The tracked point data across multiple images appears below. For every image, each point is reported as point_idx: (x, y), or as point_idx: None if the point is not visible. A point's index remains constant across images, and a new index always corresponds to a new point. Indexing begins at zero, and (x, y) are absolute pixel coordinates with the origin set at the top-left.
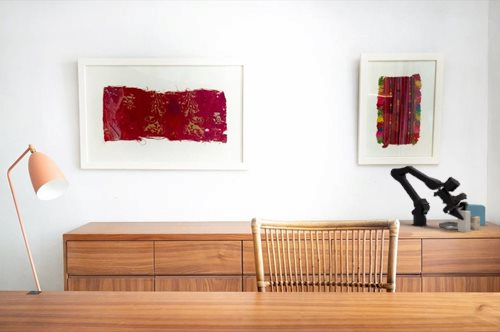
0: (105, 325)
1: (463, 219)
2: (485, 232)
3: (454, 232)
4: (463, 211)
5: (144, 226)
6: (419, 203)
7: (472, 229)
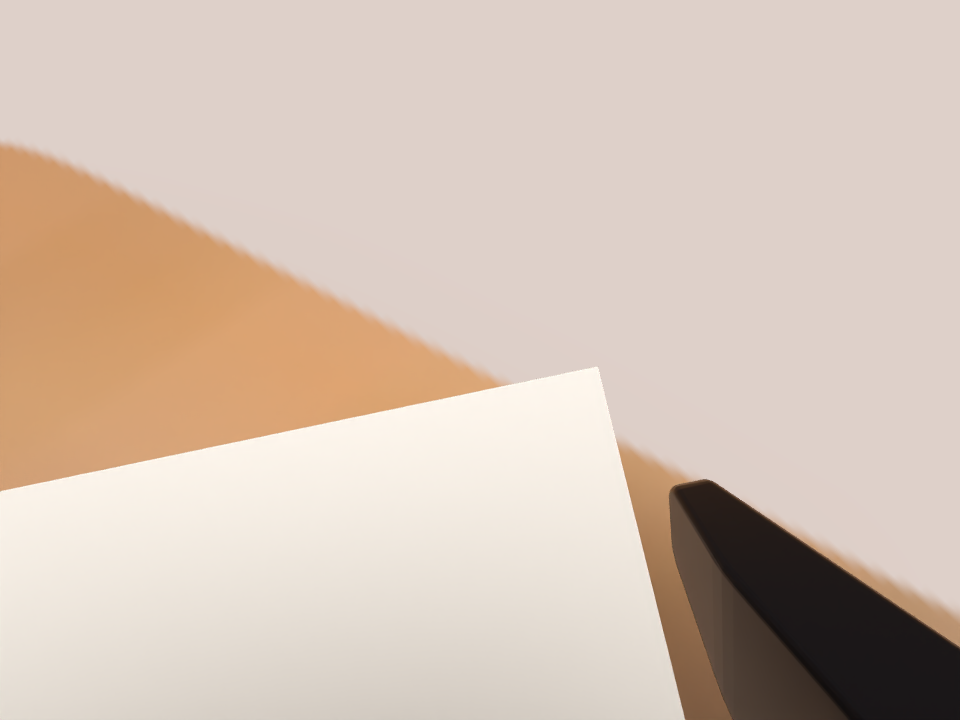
0: None
1: (706, 493)
2: (121, 237)
3: None
4: (597, 677)
5: None
6: None
7: None
